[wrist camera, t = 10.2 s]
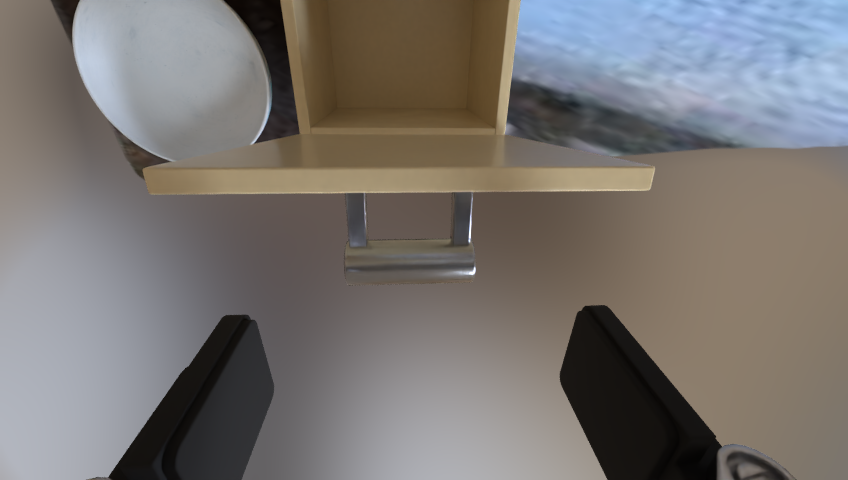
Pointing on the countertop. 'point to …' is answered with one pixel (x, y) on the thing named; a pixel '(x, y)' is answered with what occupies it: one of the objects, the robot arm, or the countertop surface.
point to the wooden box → (401, 65)
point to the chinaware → (174, 73)
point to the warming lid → (399, 186)
